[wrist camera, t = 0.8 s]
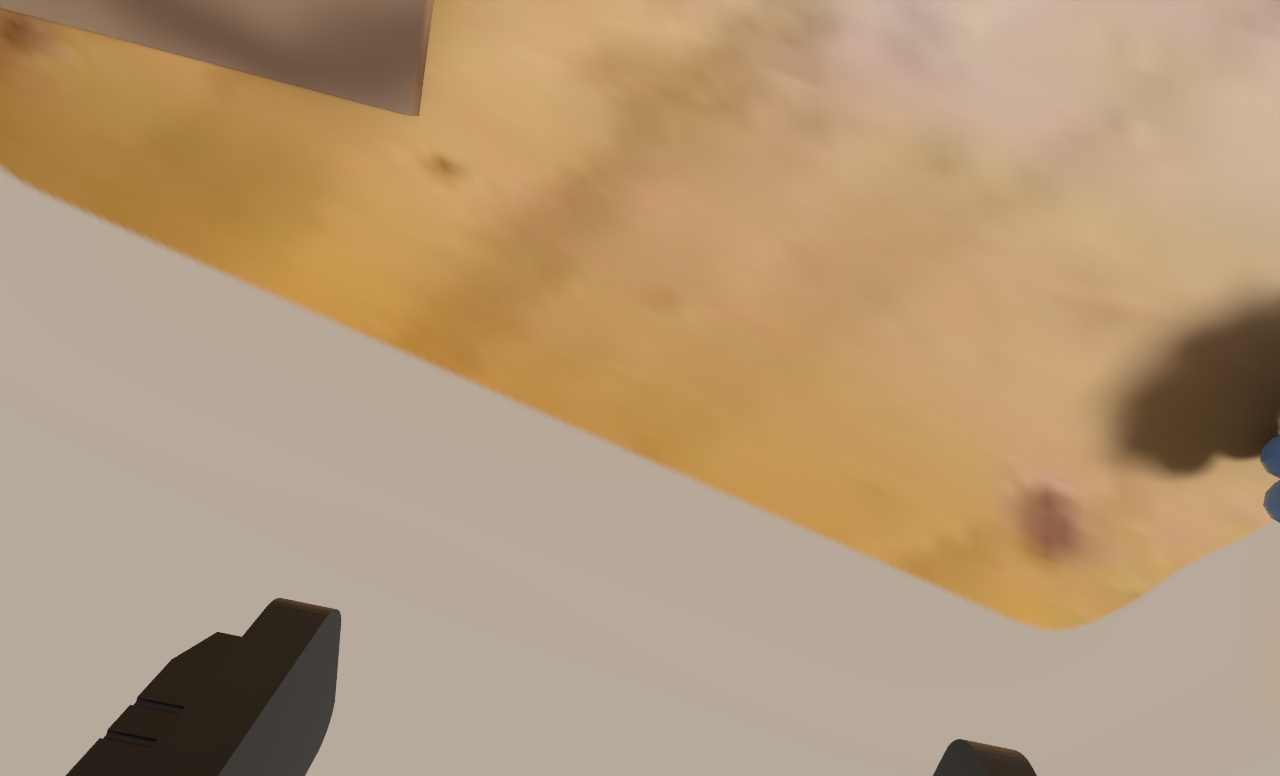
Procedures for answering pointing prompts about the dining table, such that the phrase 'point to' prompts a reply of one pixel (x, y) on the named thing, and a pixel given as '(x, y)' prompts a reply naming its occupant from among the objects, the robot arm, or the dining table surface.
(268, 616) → the robot arm
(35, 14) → the stool base plate
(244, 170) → the dining table surface
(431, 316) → the dining table surface
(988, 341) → the dining table surface
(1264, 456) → the grapes
